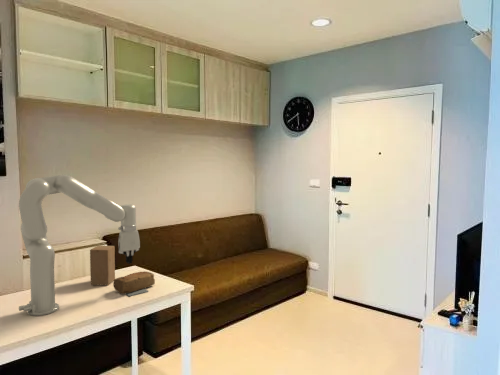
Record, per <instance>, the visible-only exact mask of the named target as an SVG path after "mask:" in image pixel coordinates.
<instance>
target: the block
mask: <svg viewBox="0 0 500 375" xmlns="http://www.w3.org/2000/svg"><path fill="white" fill-rule="evenodd" d="M155 282H156V280H155V274H154V273H152V272H150V271H138V272H133V273H129V274H127V275H125V276H120V277H115V280H114V281H113V282H112V283H113V285H112V286H113V288H114V290H115V291H116V292H117V293H119V294H122V295H123V294H124V293H130V292H133V291H137V290H140V289H143V288H144V289H146V288H149V287H152V286H154V285H155ZM124 295H125V294H124Z"/></svg>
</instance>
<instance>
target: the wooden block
mask: <svg viewBox="0 0 500 375" xmlns="http://www.w3.org/2000/svg"><path fill="white" fill-rule="evenodd" d="M115 252H116V250H115V245H96V246H94V247H92V248H91V249H89V264H90V265H89V266H90V268H89V269H90V273H89V274H90V285H91V286H109V285H111V284H112V283H113V282H114V280H115V279H116V261H115V260H116V258H115Z"/></svg>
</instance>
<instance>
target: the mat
mask: <svg viewBox="0 0 500 375" xmlns="http://www.w3.org/2000/svg"><path fill="white" fill-rule="evenodd" d="M148 292H149V290H147V289H146V288H143V289H140V290H137V291H133V292H130V293H124V295H126V296H127V297H129V298H130V297H135V296H137V295H142V294H145V293H148Z"/></svg>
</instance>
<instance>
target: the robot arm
mask: <svg viewBox="0 0 500 375" xmlns="http://www.w3.org/2000/svg"><path fill="white" fill-rule="evenodd" d="M59 193H63V194H64V195H65V196H67V197H69V198H70V199H72V200H74V201H76V202H78V203H79V204H81V205H82V206H84V207H86V208H89V209H90V210H93V211H96V212H98V213H99V214H101V215H103V216H104V217H105V218H106V219H107V220H110V221H112V222H115V223H116V222H117V223H119V222H120V227H118V229H117V230H119V235H118V241H117V242H118V243H117V244H118V247H117V248H118V254H120V255H121V254H122V255H124V256H125V262H126V263H127V264H128V265H129V264H133V258H134V257H133V256H134V254H135V253H136V252H138V251H140V248H141V241H140V234H139V231H138V229H137V207H136V205H135V204H121V205H120V204H116V203H115V202H114V201H112V200H110V199H108V198H107V197H106V196H104V195H102V194H100V193H99V192H97V191H96V190H94V189H92V188H91V187H89V186H88V185H87V184H85V183H83V182H81V181H80V180H78V179H76V178H75V177H73V176H71V175H69V174H60V175H52V176H44V177H36V178H32V179H30V180H28V182H27V183H26V185H25V189H24V190H22V193H21V194H20V197H19V199H18V208H19V209H18V210H19V214H20V219H21V224H20V231H21V236H22V240H23V243H24V247H25V251H26V253H27V255H28V257H29V262H30V264H29V265H30V266H29V279H30V280H29V281H30V301H28V303H27V304H25V305H20V306H18V311H19V312H20V311H23V312H27V314H28V315H29V316H38V317H39V316H46V315H49V314H52V313H55V312H56V311H57V310H59V308H60V305H59V304H58V302H56V289H55V286H56V285H55V284H56V283H55V256H56V253H55V249H54V247H53V245H52V244H50V242H49V240H48V235H47V233H48V225H47V223H46V220H45V217H44V216H45V215H44V213H43V206H42V204H43V200H44V199H45V198H46V197H47V196H49V195H52V194H59Z"/></svg>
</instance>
